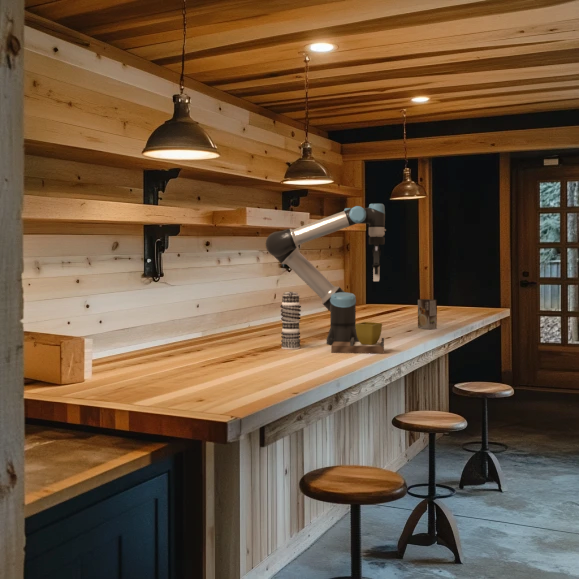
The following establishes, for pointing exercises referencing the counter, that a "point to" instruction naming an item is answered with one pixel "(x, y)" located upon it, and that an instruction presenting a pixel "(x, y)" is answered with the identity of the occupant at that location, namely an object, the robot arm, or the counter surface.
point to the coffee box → (427, 314)
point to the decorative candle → (290, 320)
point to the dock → (357, 347)
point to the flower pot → (368, 332)
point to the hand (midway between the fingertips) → (376, 280)
